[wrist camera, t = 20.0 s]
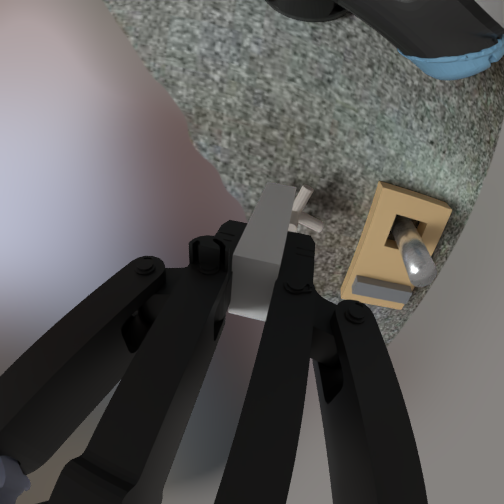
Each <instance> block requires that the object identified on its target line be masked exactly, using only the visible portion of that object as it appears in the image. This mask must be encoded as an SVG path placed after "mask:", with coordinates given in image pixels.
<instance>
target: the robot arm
mask: <svg viewBox="0 0 504 504" xmlns="http://www.w3.org/2000/svg"><path fill="white" fill-rule="evenodd" d="M265 1H266V2H267V3H268V4H269V5H270V6H271V7H272V8H273V9H274V10H276V11H277V12H279V13H281V14H283V15H285V16H287V17H289V18H292V19H296V20H300V21H306V22H324V21H329V20H333V19H336V18H339V17H341V16H343V15H344V14H346V13H347V12H351V13H352V14H354V15H355V16H357V17H358V18H359V19H361V20H362V21H364V22H365V23H366V24H368V25H369V26H370V27H372V28H373V29H374V30H376V31H377V32H378V33H379V34H381V35H382V36H383V37H384V38H386V39H387V40H388V41H389V42H390V43H392V44H393V45H394V46H395V47H396V48H397V50H398V52H399V53H400V54H401V55H403V56H404V57H406V58H408V59H410V60H411V61H412V62H413V63H414V64H415V65H416V66H417V67H419V68H420V69H421V70H422V71H423V72H424V73H425V74H427V75H429V76H431V77H433V78H436V79H439V80H458V79H462V78H466V77H470V76H473V75H475V74H478V73H480V72H482V71H484V70H486V69H488V68H489V67H491V64H490V63H492V62H497V61H498V60H500V59H501V57H502V56H503V55H504V0H265ZM295 192H296V187H293V186H288V185H283V184H278V183H273V182H267V184H266V186H265V188H264V190H263V192H262V194H261V196H260V199H259V201H258V203H257V205H256V207H255V209H254V211H253V213H252V215H251V217H250V219H249V221H248V223H243V222H238V221H232V220H229V221H227V222H226V223H224V224H223V225H221V227H220V228H219V230H218V232H217V233H216V235H215V236H200V237H197V238H195V239H193V240H192V241H190V242H189V260H190V264H189V265H188V267H185V268H165V265H164V263H163V261H162V260H160V259H159V258H157V257H154V256H143V257H139V258H137V259H135V260H133V261H131V262H130V263H129V264H128V265H126V266H125V267H124V268H122V269H121V270H120V271H118V272H117V273H116V274H115V275H113V276H112V277H111V278H110V279H108V280H107V281H106V282H105V283H103V284H102V285H101V286H100V287H98V288H97V289H96V290H95V291H94V292H92V293H91V294H90V295H89V296H87V297H86V298H85V299H84V300H83V301H81V302H80V303H79V304H78V305H77V306H76V307H74V308H73V309H72V310H71V311H70V312H69V313H67V314H66V315H65V316H64V317H63V318H62V319H61V320H60V321H58V322H57V323H56V324H55V325H54V326H53V327H52V328H50V330H48V331H47V332H46V333H45V334H44V335H43V336H42V337H41V338H39V339H38V340H37V341H36V342H35V343H34V344H33V345H32V346H31V347H30V348H29V349H28V350H27V351H26V352H24V353H23V354H22V355H21V356H20V357H19V358H18V359H17V360H16V361H15V362H14V363H13V364H12V365H11V366H10V367H9V368H8V369H7V370H6V371H5V372H4V374H2V375H1V376H0V504H15V501H16V499H17V497H18V496H19V495H21V493H23V491H24V490H25V491H27V490H29V489H30V480H29V479H28V477H27V476H26V475H27V474H29V473H31V472H34V471H35V470H37V469H38V468H39V467H41V466H42V465H43V464H44V463H45V462H47V460H49V458H50V457H52V455H53V454H54V453H55V452H56V451H57V450H58V449H59V448H60V446H61V445H62V444H63V443H64V442H65V441H66V440H67V438H68V437H69V436H70V435H71V434H72V433H73V432H74V431H75V429H76V428H77V427H78V426H79V425H80V424H81V423H82V422H83V421H84V420H85V418H86V417H87V416H88V415H89V414H90V413H91V412H92V411H93V410H94V408H95V407H96V406H97V405H98V404H99V403H100V402H101V401H102V400H103V398H104V397H105V396H106V395H107V394H108V393H109V392H110V391H111V390H112V389H113V387H114V386H115V385H116V384H117V383H118V382H119V381H120V380H121V381H120V383H119V385H118V387H117V389H116V391H115V392H114V394H113V396H112V398H111V400H110V402H109V404H108V406H107V408H106V410H105V412H104V414H103V416H102V418H101V419H100V421H99V423H98V425H97V427H96V429H95V431H94V434H93V436H92V438H91V440H90V442H89V444H88V446H87V448H86V450H85V451H84V453H83V454H82V455H81V456H79V457H77V458H75V459H72V460H70V461H69V462H68V463H67V464H66V465H65V467H64V468H63V470H62V471H61V474H60V476H59V478H58V480H57V482H56V485H55V487H54V489H53V492H52V494H51V496H50V499H49V501H45V502H41V503H38V504H161V502H162V493H163V488H164V485H165V482H166V480H167V477H168V474H169V472H170V469H171V466H172V464H173V461H174V458H175V455H176V453H177V450H178V448H179V445H180V442H181V440H182V437H183V434H184V432H185V429H186V426H187V423H188V421H189V418H190V416H191V413H192V410H193V408H194V405H195V402H196V400H197V397H198V394H199V392H200V389H201V386H202V383H203V381H204V378H205V376H206V373H207V370H208V367H209V364H210V362H211V360H212V357H213V354H214V351H215V349H216V346H217V343H218V341H219V338H220V335H221V333H222V330H223V327H224V325H225V316H226V312H227V309H228V307H229V313H232V314H237V315H241V316H245V317H249V318H253V319H258V320H262V321H265V325H264V329H263V333H262V338H261V341H260V345H259V349H258V353H257V357H256V360H255V364H254V368H253V372H252V376H251V379H250V383H249V387H248V390H247V394H246V398H245V401H244V405H243V408H242V412H241V416H240V419H239V423H238V426H237V430H236V434H235V437H234V440H233V443H232V447H231V450H230V454H229V457H228V460H227V464H226V467H225V470H224V473H223V477H222V480H221V483H220V486H219V489H218V492H217V496H216V499H215V502H214V504H286V500H287V495H288V491H289V486H290V482H291V477H292V472H293V467H294V462H295V457H296V451H297V446H298V440H299V434H300V428H301V422H302V415H303V408H304V401H305V394H306V386H307V377H308V370H309V361H310V358H312V359H313V366H314V372H315V377H316V384H317V390H318V396H319V402H320V408H321V415H322V421H323V428H324V435H325V441H326V449H327V457H328V464H329V473H330V481H331V489H332V498H333V504H428V501H427V495H426V490H425V484H424V478H423V473H422V468H421V464H420V459H419V455H418V451H417V446H416V442H415V438H414V434H413V430H412V427H411V423H410V419H409V416H408V412H407V409H406V406H405V402H404V399H403V395H402V392H401V389H400V386H399V383H398V380H397V377H396V374H395V372H394V368H393V365H392V362H391V359H390V356H389V354H388V351H387V348H386V345H385V343H384V340H383V337H382V335H381V332H380V330H379V327H378V324H377V322H376V319H375V317H374V314H373V313H372V311H371V310H370V308H369V307H367V306H366V305H365V304H364V303H361V302H359V301H357V300H351V299H349V300H343V301H341V302H340V303H338V305H336V304H334V303H332V302H330V301H328V300H326V299H324V298H323V297H321V296H320V295H319V294H318V293H317V291H316V290H315V286H314V285H313V274H314V256H315V242H314V241H313V239H312V237H311V236H310V235H305V234H300V233H296V232H291V231H288V228H289V223H290V218H291V213H292V208H293V203H294V198H295Z"/></svg>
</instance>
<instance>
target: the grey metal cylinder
mask: <svg viewBox="0 0 504 504" xmlns="http://www.w3.org/2000/svg"><path fill="white" fill-rule="evenodd" d="M391 231H392V233H393V236H394V238H395V241H396V243H397V246H398V249H399V251H400V254H401V257H402V259H403V262H404V265H405V268H406V270H407V273H408V276H409V279H410V282H411V284H412V285H414V286H416V287H424V286H427V285H429V284H430V283H431V282H432V281H433V280H434V279H435V277H436V275H437V268H436V266H435V264H434V262H433V260H432V258H431V256H430V254H429V252H428V250H427V248H426V246H425V244H424V242H423V240H422V238H421V236H420V235H419V233H418V231H417V229H416V227H415V225H414V224H413V222H412V220H411V219H410V218H408V217H405V216H398V217H396V218H395V219H394V222H393V225H392V227H391Z"/></svg>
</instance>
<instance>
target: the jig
mask: <svg viewBox="0 0 504 504" xmlns="http://www.w3.org/2000/svg"><path fill="white" fill-rule="evenodd" d="M451 212H452V209H451V208H450V207H449V206H448V204H447V203H446V202H443V201H440V200H437V199H435V198H432V197H429V196H426V195H423V194H420V193H417V192H414V191H411V190H408V189H405V188H401V187H398V186H395V185H392V184H388V183H385V182H381V181H379V182H378V186H377V189H376V192H375V196H374V199H373V202H372V205H371V208H370V211H369V214H368V217H367V220H366V223H365V226H364V229H363V232H362V235H361V237H360V240H359V243H358V246H357V248H356V251H355V254H354V256H353V259H352V262H351V264H350V267H349V269H348V272H347V274H346V277H345V279H344V282H343V284H342V287H341V299H346V300H349V299H351V300H357V301H359V302H362V303H367V304H372V305H378V306H383V307H389V308H394V309H400V310H401V309H402V307H403V306H404V304H406V303H407V302H408V300H409V298H410V297H411V295H412V291H413V289H414V287H415V286H414V285H412V284H411V282H410V279H409V276H408V273H407V270H406V268H405V265H404V262H403V259H402V257H401V254H400V251H399V249H398V246H397V243H396V241H394V240H390V239H387V237H388V235H389V232H390V230H391V227H392V225H393V222H394V219H395V217H396V214H398V215H401V216H405V217H408V218H411V219H415V220H418V221H420V223H419V225H418V228H417V231H418V233H419V235H420V236H421V238H422V240H423V242H424V244H425V246H426V248H427V250H428V252H429V254H430V256H431V255H432V253H433V251H434V249H435V247H436V245H437V243H438V241H439V239H440V237H441V235H442V232H443V230H444V228H445V226H446V223H447V221H448V219H449V216H450V214H451Z"/></svg>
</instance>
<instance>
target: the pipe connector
mask: <svg viewBox="0 0 504 504" xmlns="http://www.w3.org/2000/svg"><path fill="white" fill-rule="evenodd" d="M313 191H314V190H313V188H312V187H310V186H309V185H306V184H303V186H302V188H301V189H300V191H299V193H298V195H297V196H295V198H294V203H293V208H292V213H291V218H290V223H289V228H288V231H291V232H296V231H297V226H298V222H299V223H301V224H303V225H305V226H307V227H309V228H311V229H313V230H315V231H317V232H321V230H322V228H323V226H324V222H322V221H320V220H318V219H316V218H314V217H312V216H310V215H308V214H306V213H304V212H302V210H303V209H304V207H305V205H306V203H307V202H308V200H309V198H310V196H311V195H312V193H313Z"/></svg>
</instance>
